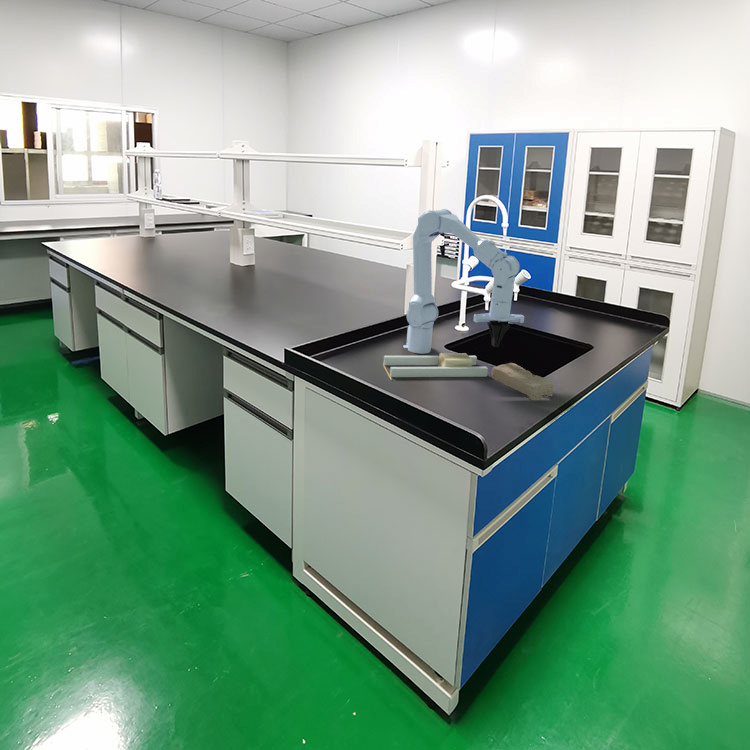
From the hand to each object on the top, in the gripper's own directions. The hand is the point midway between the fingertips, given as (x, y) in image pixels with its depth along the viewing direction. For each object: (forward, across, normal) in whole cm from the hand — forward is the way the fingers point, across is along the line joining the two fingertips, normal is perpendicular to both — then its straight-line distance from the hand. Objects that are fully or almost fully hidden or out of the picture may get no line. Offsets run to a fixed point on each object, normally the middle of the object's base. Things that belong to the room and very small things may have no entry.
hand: (495, 346), depth 174 cm
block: (+7, -12, 0) cm, 14 cm away
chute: (+8, -18, 0) cm, 19 cm away
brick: (+9, +4, -12) cm, 16 cm away
